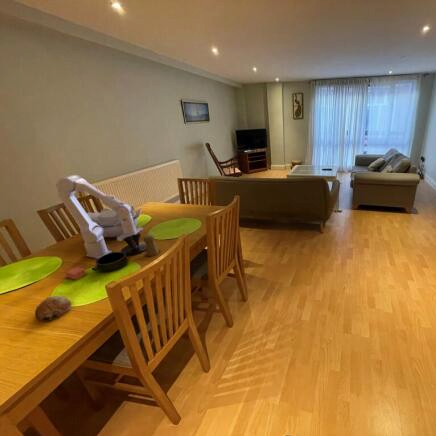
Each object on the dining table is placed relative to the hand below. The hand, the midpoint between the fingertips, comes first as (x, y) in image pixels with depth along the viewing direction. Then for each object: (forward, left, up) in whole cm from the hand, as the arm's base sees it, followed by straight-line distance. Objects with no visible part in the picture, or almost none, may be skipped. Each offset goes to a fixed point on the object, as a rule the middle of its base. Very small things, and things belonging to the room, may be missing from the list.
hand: (134, 246), depth 138 cm
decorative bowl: (-28, +12, -2) cm, 31 cm away
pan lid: (0, 0, -1) cm, 1 cm away
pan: (+4, -16, -2) cm, 17 cm away
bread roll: (+14, -47, -2) cm, 49 cm away
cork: (+13, 0, -2) cm, 13 cm away
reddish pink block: (-4, -28, -2) cm, 28 cm away
